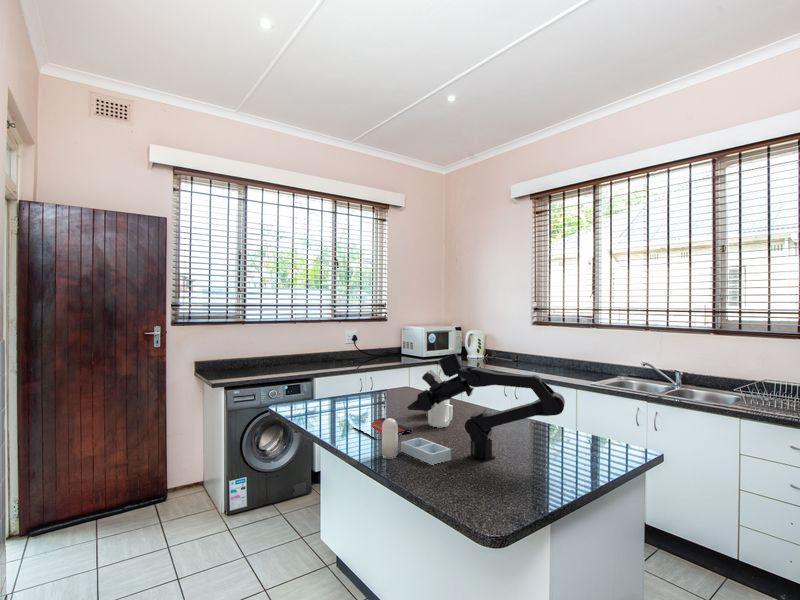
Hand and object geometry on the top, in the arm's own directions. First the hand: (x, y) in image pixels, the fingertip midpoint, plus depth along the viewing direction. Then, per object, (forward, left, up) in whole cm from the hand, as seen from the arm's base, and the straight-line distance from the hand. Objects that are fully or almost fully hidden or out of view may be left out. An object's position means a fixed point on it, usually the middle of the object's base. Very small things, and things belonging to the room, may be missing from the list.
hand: (412, 405), depth 150 cm
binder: (+25, -4, -16) cm, 30 cm away
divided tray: (-9, +2, -15) cm, 17 cm away
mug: (+14, -27, -15) cm, 34 cm away
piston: (+28, -38, -15) cm, 49 cm away
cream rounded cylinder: (-2, +11, -15) cm, 19 cm away
